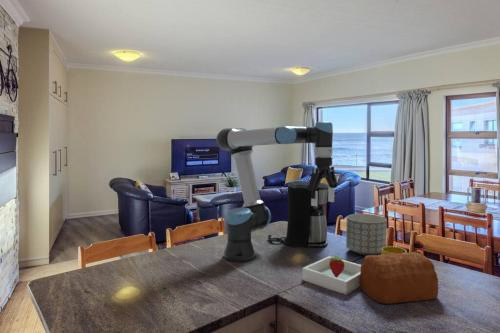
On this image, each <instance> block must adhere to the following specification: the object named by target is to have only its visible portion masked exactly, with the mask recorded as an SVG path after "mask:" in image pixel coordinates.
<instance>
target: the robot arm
mask: <svg viewBox="0 0 500 333" xmlns="http://www.w3.org/2000/svg"><path fill="white" fill-rule="evenodd" d="M333 129H334V128H333V123H332V122H331V121H316V122H315V125H314V126H290V125H283V126H279V127H278V126H277V127H267V128H266V127H265V128H256V129H246V128H229V127H228V128H223V129H221V130H220V131H219V132H218V133H217V134H216V139H215V140H216V145H217V147H219V149H221V150H222V151H226V152H230V156H231V157H233V159H234V160H235V162H234V163H235V166H236V170H237V171H236V172H237V175H238V180H239V185H240V190H241V193H242V197H243V205H242V206H241V207H235V208H232V209H230V210H229V211H228V213H227V218H226V222H227V224H226V230H227V242H226V246H225V249H224V252H223V257H224V259H226V261H231V262H235V263H240V262H241V263H242V262H247V261H248V262H249V261H251V260H253V259H255V257H256V253H255V252H256V251H255V249H254V245H253V242H252V233H254V232H256V231H259V230H263V229H265V228H267V227H268V226H269V225H270V223H271V220H272V214H271V211H270V209H269V208H268V207H267V206H266V205H265V201H263V200H262V199H261V196H260V193H259V192H260V191H259V188H258V187H259V186H258V183H257V178H256V173H255V169H254V165H253V161H252V154H253V148H254V147H255V146H266V145H267V146H269V145H290V144H291V145H292V144H314V156H315V157H314V165H315V166H316V168H315V167H313V168H312V170H311V171H312V172H311V176H310V180H309V181H308V182H309V186H308V190H309V191H311V206H317V197H318V191H316V190H317V188H318V186H319V184H320V183H322V182H321V181H322V180H323V179H325V180H326V182H327V185H329V186H330V187H329V188H328V197H327V202H330V203H334V202H335V189H337V188H338V181H337V177H336V174H335V166H333V157H332V156H333V140H334V139H333V138H334V137H333V135H334V130H333Z"/></svg>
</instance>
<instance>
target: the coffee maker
mask: <svg viewBox="0 0 500 333" xmlns="http://www.w3.org/2000/svg"><path fill="white" fill-rule="evenodd" d="M309 182H310V181H308V180H307V181H305V180H304V181H303V180H302V181H301V180H294V181H289V183H288V184H287V186H286V187H287V207H288V210H287V211H288V212H287V213H288V216H287V217H288V218H287V226H286V236H281V237H272V234H267V235H268V237H267V239H268V240H269V241H270V242H275V243H278V242H279V243H281V242H282V243H283V244H284V245H286V246H291V247H300V248H310V247H311V248H325V247H326V246H327V245H328V241H329V240H328V225H327V218H326V213H325V210H324V208H323V206H326V204H327V202H328V188H329V187H330V186H329V184H328V183H323V182H320V184H319V186H318V188H317V190H316V191H318V197H317V206H311V191H309V190H308V186H309Z"/></svg>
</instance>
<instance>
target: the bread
mask: <svg viewBox="0 0 500 333" xmlns="http://www.w3.org/2000/svg"><path fill="white" fill-rule="evenodd" d="M362 261H363V262H362V263H361V264H360V265H361V272H360V287H359V288H360V289H361V290H362V291H363V292H364V293H365V294H366V295H368V296H369V297H370V298H371V299H373V301H374V300H375V301H376V302H378V303H380V304H382V305H386V304H387V305H388V304H389V305H390V304H398V303H399V304H400V303H408V302H419V301H429V300H436V299H437V298H438V294H439V280H438V279H439V278H438V274H437V272H436V270H435V265H434V262H432V261H431V259H429V258H428V257H427V256H425V255H424V254H423V253H420V252H417V251H411V252H407V253H392V254H383V255H381V254H376V255H369V256H364V257H363V260H362Z"/></svg>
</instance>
